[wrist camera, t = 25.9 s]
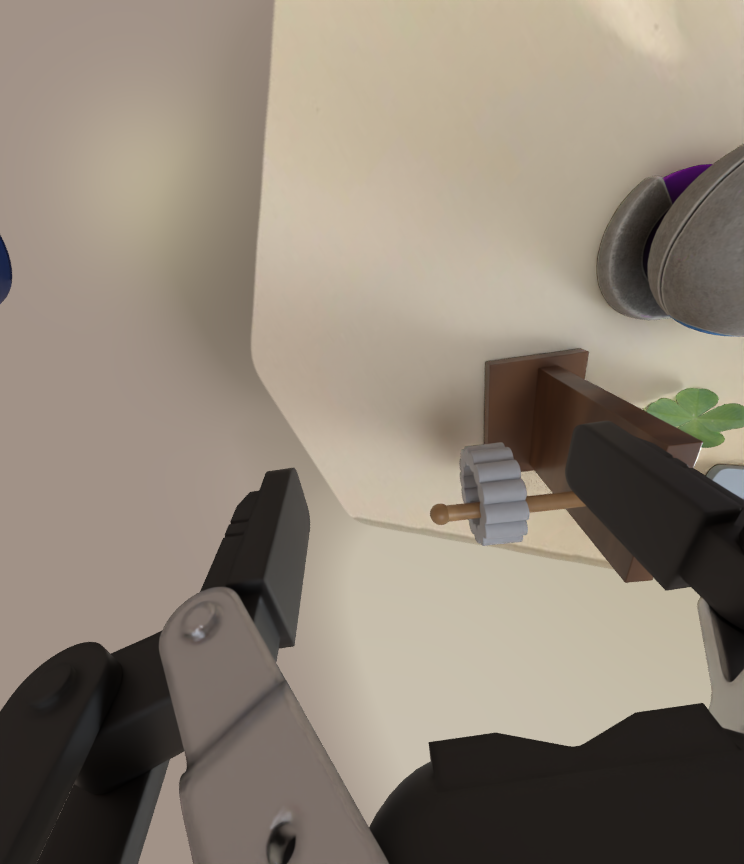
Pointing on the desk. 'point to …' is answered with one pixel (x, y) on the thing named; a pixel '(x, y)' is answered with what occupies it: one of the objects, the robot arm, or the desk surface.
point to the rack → (562, 437)
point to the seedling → (699, 415)
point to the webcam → (680, 249)
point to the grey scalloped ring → (494, 493)
